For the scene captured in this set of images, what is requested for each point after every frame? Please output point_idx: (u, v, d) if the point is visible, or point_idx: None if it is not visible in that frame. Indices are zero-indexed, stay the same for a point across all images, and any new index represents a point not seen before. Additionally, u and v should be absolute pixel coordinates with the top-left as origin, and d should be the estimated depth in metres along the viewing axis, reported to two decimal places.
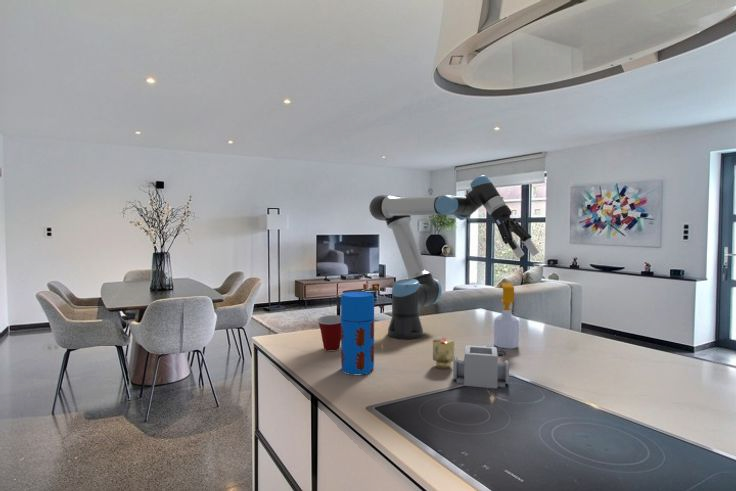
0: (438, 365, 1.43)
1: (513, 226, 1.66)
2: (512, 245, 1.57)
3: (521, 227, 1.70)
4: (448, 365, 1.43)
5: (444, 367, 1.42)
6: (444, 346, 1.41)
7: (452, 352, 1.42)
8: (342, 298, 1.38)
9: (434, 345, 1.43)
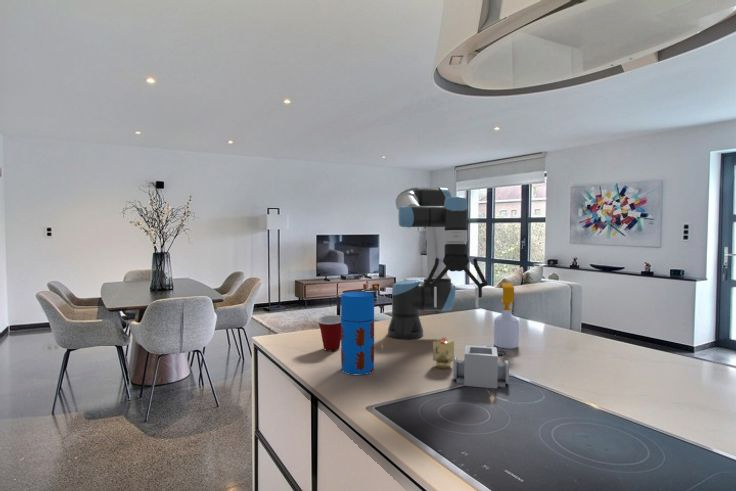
0: (438, 365, 1.43)
1: (458, 269, 1.43)
2: (430, 292, 1.45)
3: (477, 271, 1.42)
4: (448, 365, 1.43)
5: (444, 367, 1.42)
6: (444, 346, 1.41)
7: (452, 352, 1.42)
8: (342, 298, 1.38)
9: (434, 345, 1.43)
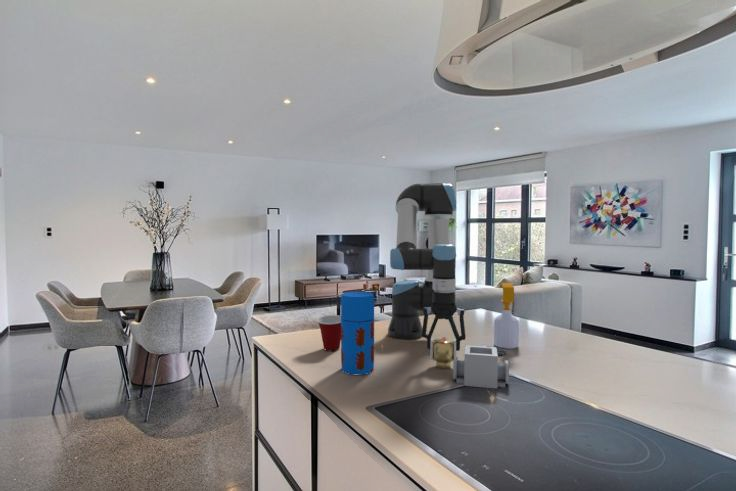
0: (438, 365, 1.43)
1: (445, 317, 1.43)
2: (427, 344, 1.46)
3: (460, 323, 1.42)
4: (448, 365, 1.43)
5: (444, 367, 1.42)
6: (444, 346, 1.41)
7: (452, 352, 1.42)
8: (342, 298, 1.38)
9: (434, 345, 1.43)
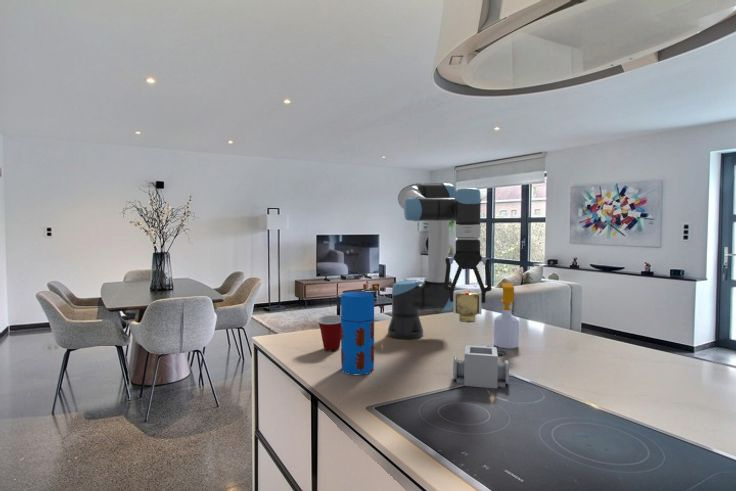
0: (462, 319, 1.33)
1: (469, 267, 1.33)
2: (449, 297, 1.35)
3: (486, 273, 1.31)
4: (473, 318, 1.32)
5: (468, 320, 1.32)
6: (469, 297, 1.31)
7: (477, 304, 1.32)
8: (342, 298, 1.38)
9: (457, 297, 1.33)
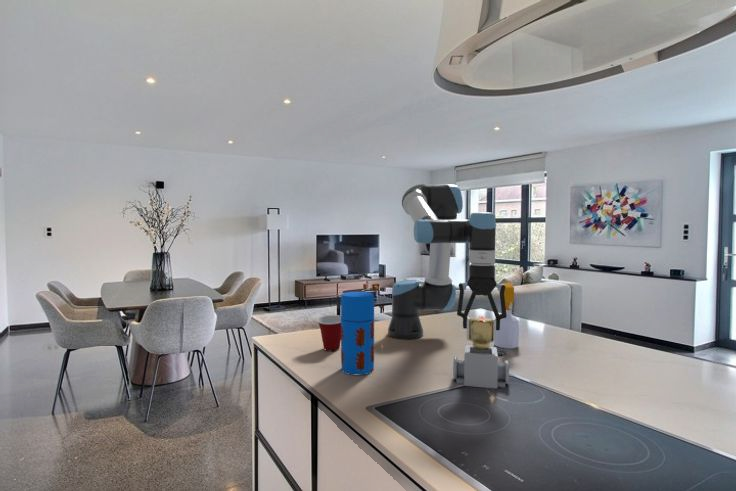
0: (476, 346, 1.29)
1: (484, 293, 1.29)
2: (463, 323, 1.32)
3: (500, 300, 1.27)
4: (487, 346, 1.29)
5: (482, 348, 1.28)
6: (483, 325, 1.27)
7: (491, 332, 1.28)
8: (342, 298, 1.38)
9: (471, 324, 1.29)
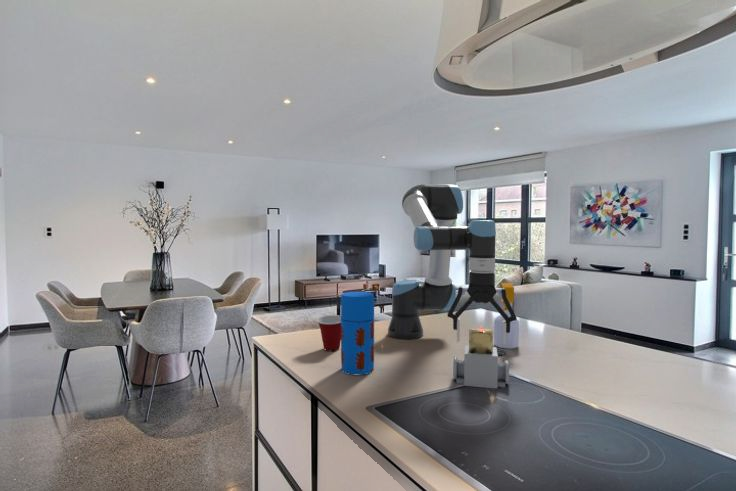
0: None
1: (483, 301, 1.29)
2: (453, 324, 1.32)
3: (505, 304, 1.27)
4: None
5: None
6: (483, 336, 1.27)
7: (491, 342, 1.28)
8: (342, 298, 1.38)
9: (471, 335, 1.29)
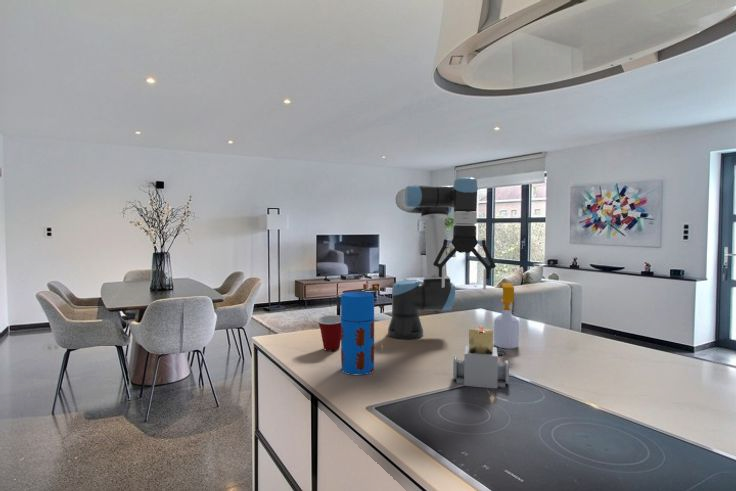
0: None
1: (466, 251, 1.43)
2: (438, 273, 1.47)
3: (485, 253, 1.42)
4: None
5: None
6: (483, 336, 1.27)
7: (491, 342, 1.28)
8: (342, 298, 1.38)
9: (471, 335, 1.29)
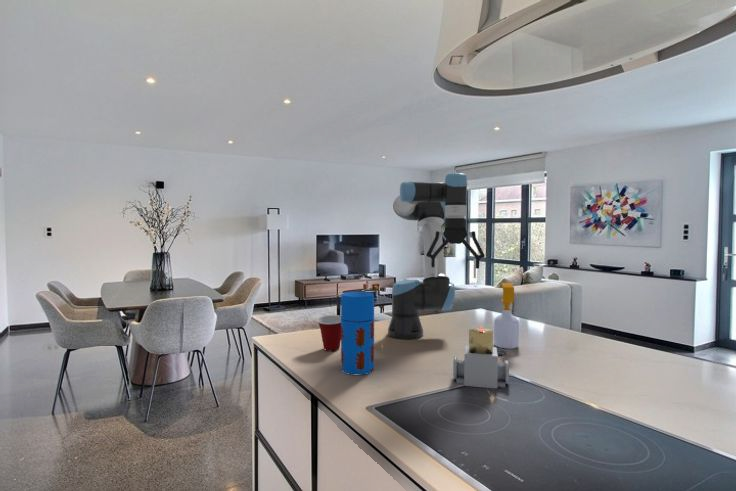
0: None
1: (457, 242, 1.52)
2: None
3: (475, 244, 1.51)
4: None
5: None
6: (483, 336, 1.27)
7: (491, 342, 1.28)
8: (342, 298, 1.38)
9: (471, 335, 1.29)
